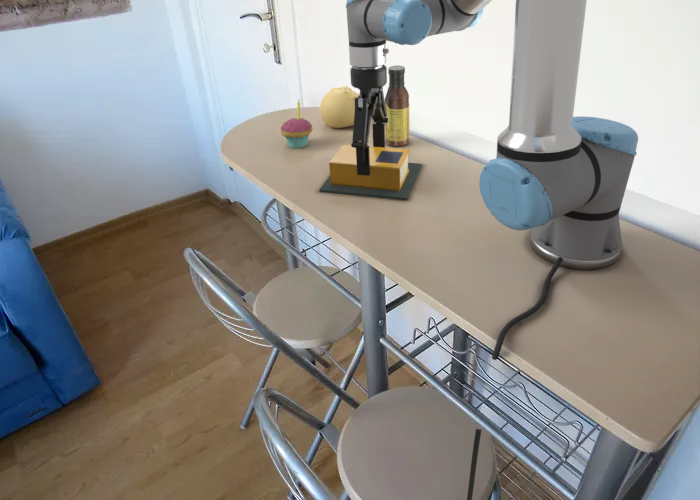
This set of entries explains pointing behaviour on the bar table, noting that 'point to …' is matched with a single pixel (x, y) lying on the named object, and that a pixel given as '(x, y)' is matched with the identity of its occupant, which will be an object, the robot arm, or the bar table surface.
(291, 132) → the cupcake
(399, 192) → the desk mat
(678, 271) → the bar table surface
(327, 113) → the sculpture
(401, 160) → the yellow box with panel
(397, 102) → the sauce bottle
